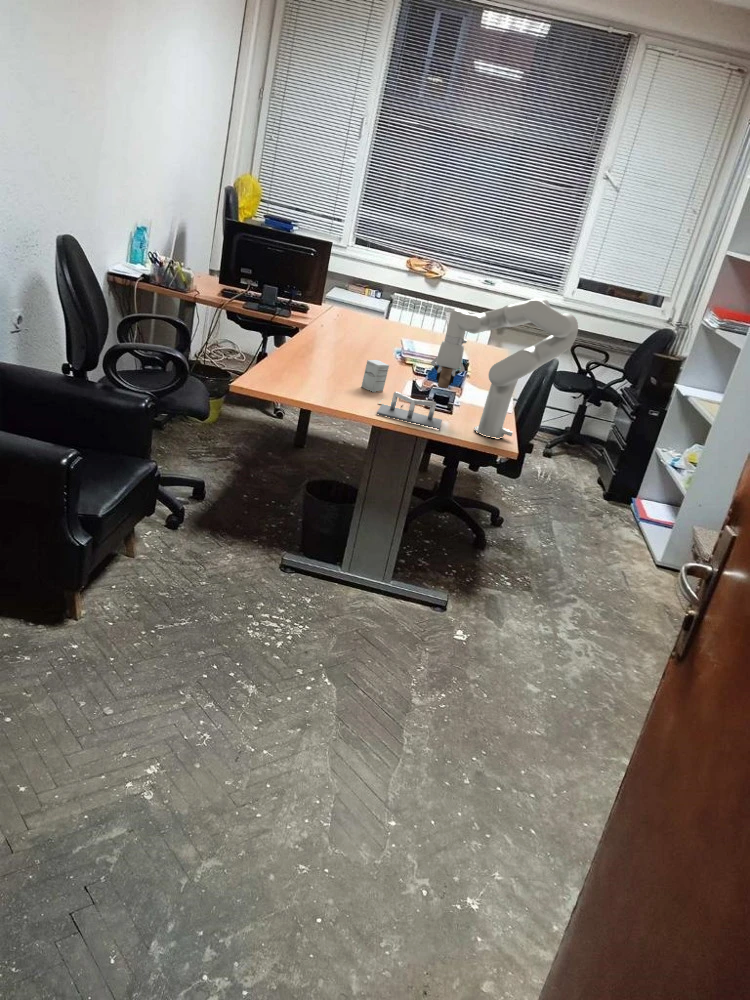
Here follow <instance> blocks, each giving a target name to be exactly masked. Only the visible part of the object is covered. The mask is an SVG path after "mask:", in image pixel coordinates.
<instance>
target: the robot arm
mask: <svg viewBox="0 0 750 1000" xmlns="http://www.w3.org/2000/svg"><path fill="white" fill-rule="evenodd" d="M525 324H526V325H527V324H533V325H535V326H536V327H537V328H539V329H540V330H542V331H543V332H545V333H547V334H548V335H549V336H547V337H545V338H544V339H542V340H540V341H538V342H536V343H535V344H533V345H531V346H528V347H525V348H522V349H520V350H518V351H516V352H514V353H512V354H511V355H508V356H507V357H505V358H503V359H501V360H500V361H498V362H496V363H494V364H493V365H492V366H491V367H490V368H489V371H488V379H489V382H490V383H491V384H490V387H489V390H488V393H487V396H486V399H485V402H484V407H483V409H482V410H483V411H482V413H481V417H480V421H479V424H478V425H477V426H474V428H473V430H474V429H475V431H477V432H478V433H481V434H483V435H486V436H490V437H496V438H500V437H503V436H504V435H506V436H507V437H512V436H513V431H510V429H506V428H505V427H504V423H505V421H506V416H507V413H508V409H509V406H510V403H511V400H512V397H513V394H514V392H515V388H516V386H517V383H518V381H519V379H522V378H523V377H525V376H527V375H528V374H531V373H533V372H535V371H536V370H537V369H539V368H540V367H542V366H543V365H545V364H547V363H549V362H551V361H552V360H554V359H555V358H557V357H559V356H560V355H562V354H564V353H565V352H567V350H569V349H570V348H571V347H572V346H573V344H574V342H575V341H576V339H577V336H578V332H579V325H578V324H579V322H578V319H577V317H576V316H574V315H573V314H571V313H567V312H565V313H560V312H559V311H557V310H555V309H554V308H552V307H551V305H550V302H549V301H548V300H547V299H545V298H543V297H542V298H541V297H537V298H532V299H527V300H524V301H520V302H516V303H515V302H514V303H512V304H507V305H505V306H503V307H500V308H497V309H494V310H487V311H484V312H478V313H473V314H472V313H469V312H468V311H467V310H464V309H460V308H453V309H451V311H450V315H449V320H448V324H447V327H446V328H447V329H446V333H445V337H444V340H442V342H441V344H440V347H439V350H438V352H437V353H438V354H437V356H436V357H435V358H434V359H433V360H432V361H431V362H430V364H431V365H432V367H434V369H435V371H436V372H437V373H436V378H435V380H437V381H436V383H438V382H439V378H440V373H441V369H442V367H447V368H451V369H453V370H452V375H451V378H450V383H449V386H451V385H452V384H453V383H454V380H455V377H456V376H457V375H458V374H461V373H462V372H465V366H464V364H463V356H464V350H465V349H464V348H465V345H463V344H467V339H465V335H466V332H467V333H470V334H474V335H475V334H480V333H483V332H487V331H492V330H496V329H501V328H511V327H518V326H521V325H525ZM475 431H474V432H475ZM504 437H505V436H504ZM504 437H503V438H504Z"/></svg>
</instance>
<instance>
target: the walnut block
mask: <svg viewBox="0 0 750 1000" xmlns="http://www.w3.org/2000/svg"><path fill="white" fill-rule="evenodd" d="M452 370H453V369H451V368H447V367H442V369H441V373H440V378H439V382H437V387H440V388H444V389H449V387H450V385H449V383H450V378H451V375H452Z"/></svg>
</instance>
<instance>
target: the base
mask: <svg viewBox="0 0 750 1000" xmlns="http://www.w3.org/2000/svg"><path fill="white" fill-rule="evenodd" d="M390 407H391V406H388V405H384V404H382V405H380V407H379V408H378V410H377V411H376V415H377V414H379V415H383V416H387V417H390V418H389V419H391V418H395V419H399V420H403V421H407V422H411V423H416V424H420V425H424V426H428V427H433V428H437V429H439V430H441V426H442V423H443V419H441V418H437V417H433V419H432V420H428V419H427V418H428V415H425V414H421V413H418V412H413V416H412V418H408V417H407V416H408V412H409V410H406V409H399V408H395V410H390ZM379 415H378V416H379ZM383 416H382V417H383ZM387 417H386V418H387ZM395 419H394V420H395Z"/></svg>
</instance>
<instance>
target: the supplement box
mask: <svg viewBox="0 0 750 1000" xmlns="http://www.w3.org/2000/svg"><path fill="white" fill-rule="evenodd" d="M389 368H390V365H389V364H387V363H385V362H383V361H381V360H379V359H367V361H366V364H365V369H364V374H363V378H362V382H361V388H363V389H366V390H367V391H369V390H370V391H369V392H371V391H372V392H371V393H377V392H376V391H383V392H384V388H385V383H386V380H387V376H388V372H389Z"/></svg>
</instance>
